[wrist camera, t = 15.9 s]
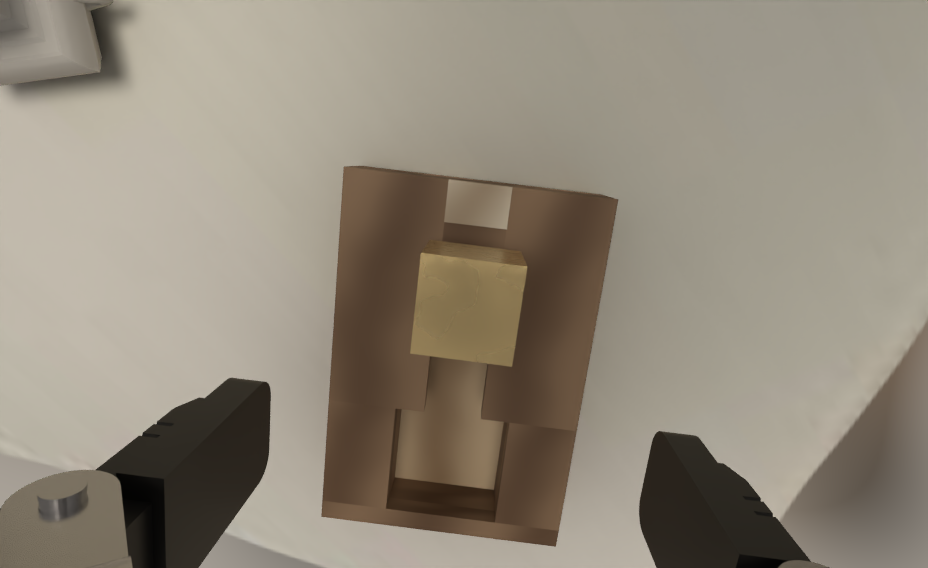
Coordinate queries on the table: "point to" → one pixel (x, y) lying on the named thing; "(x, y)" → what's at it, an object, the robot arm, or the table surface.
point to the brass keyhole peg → (468, 302)
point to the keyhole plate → (457, 381)
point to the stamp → (48, 39)
